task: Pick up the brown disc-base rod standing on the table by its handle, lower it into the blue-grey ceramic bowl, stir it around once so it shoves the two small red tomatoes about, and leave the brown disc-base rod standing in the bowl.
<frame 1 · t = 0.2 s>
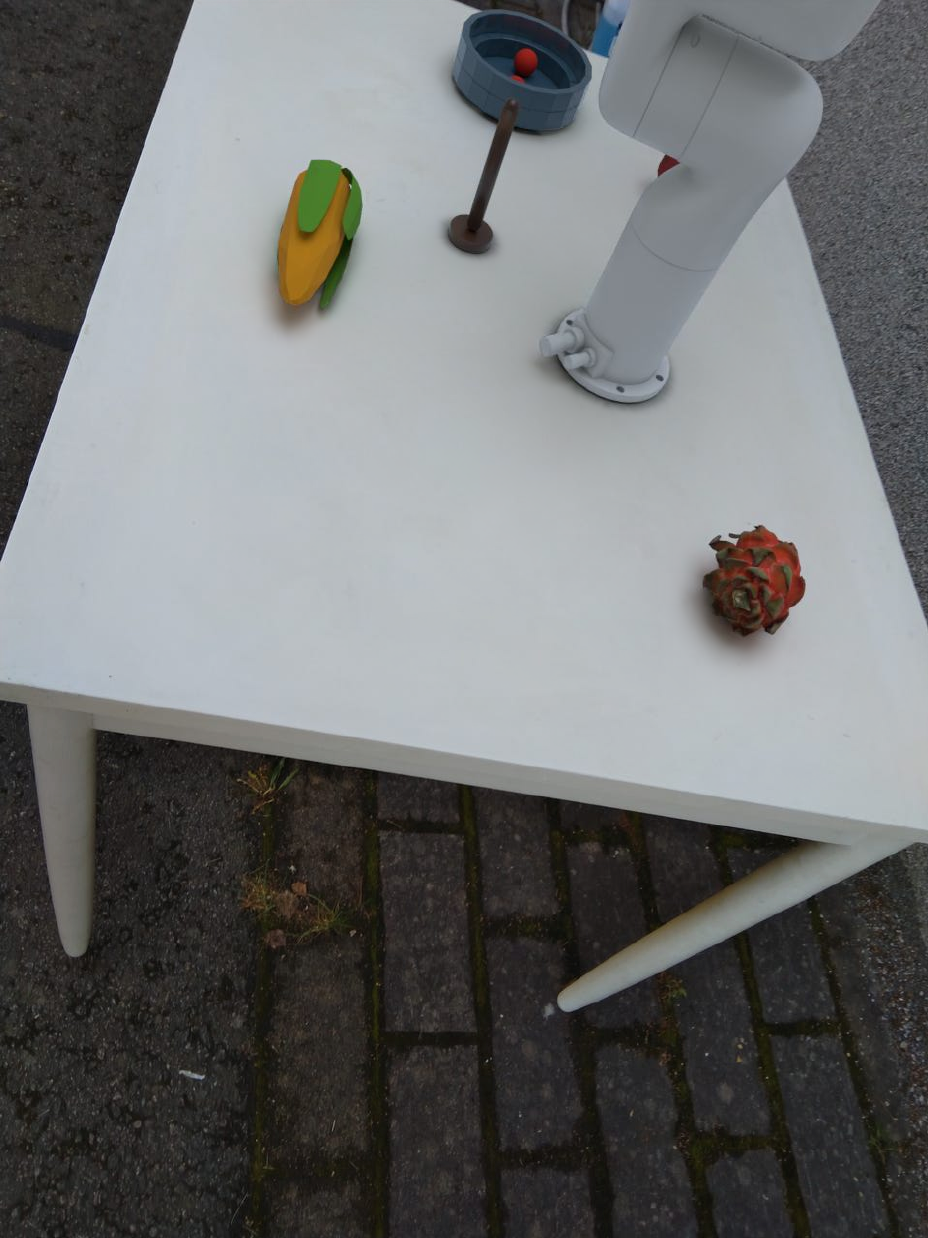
brown disc-base rod: (469, 238, 99), on the table
tomato a: (525, 62, 115), point 2 cm above the table, touching bowl
bowl: (514, 93, 115), on the table
corn: (312, 266, 90), on the table
tomato b: (514, 89, 111), point 2 cm above the table, touching bowl
onion: (667, 199, 113), on the table
dragon fruit: (732, 598, 84), on the table
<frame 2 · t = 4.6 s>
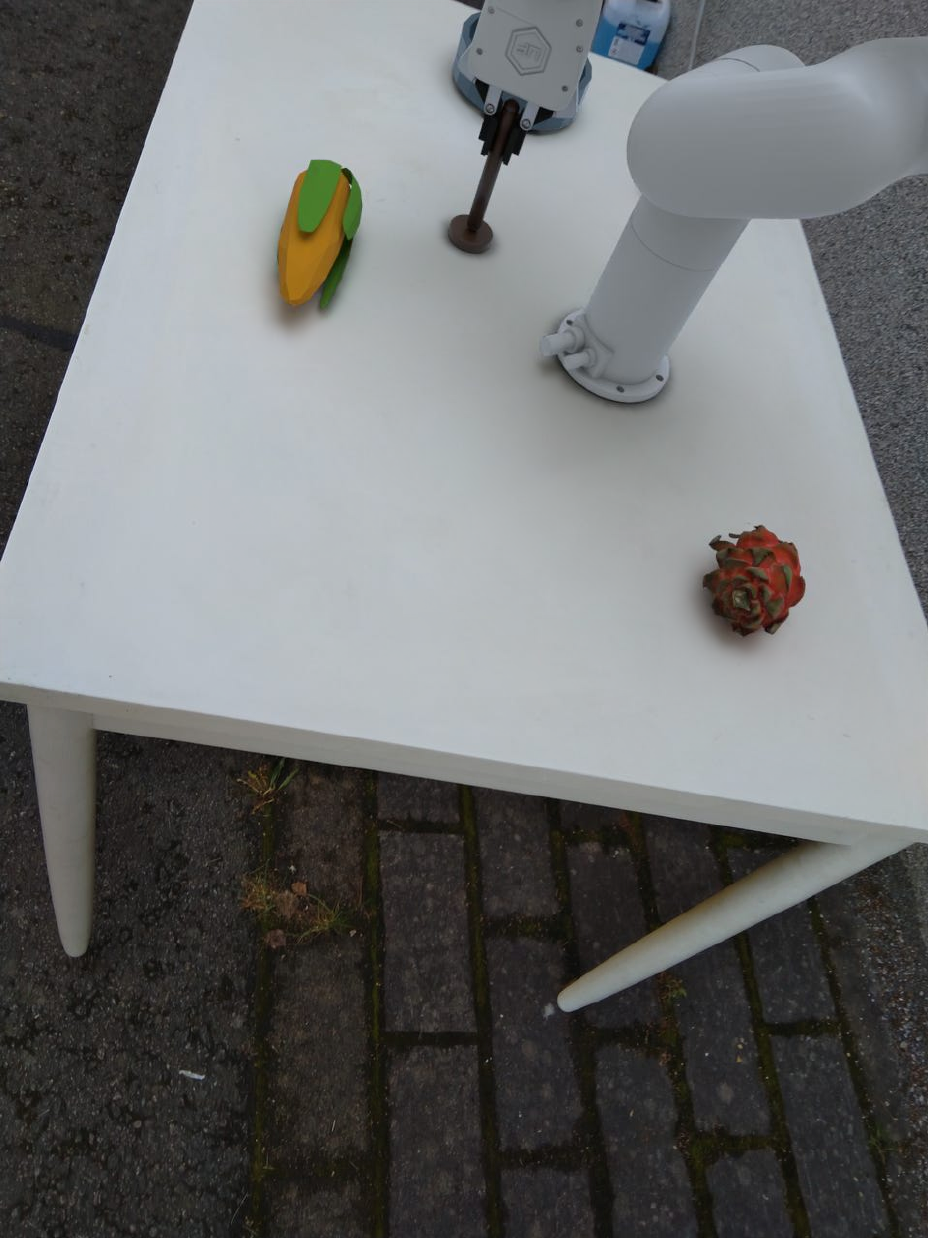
hand: (497, 151, 90), 10 cm above the table, tool pointing down, fingers closed on brown disc-base rod
brown disc-base rod: (469, 238, 99), on the table, touching gripper
everything else where it was.
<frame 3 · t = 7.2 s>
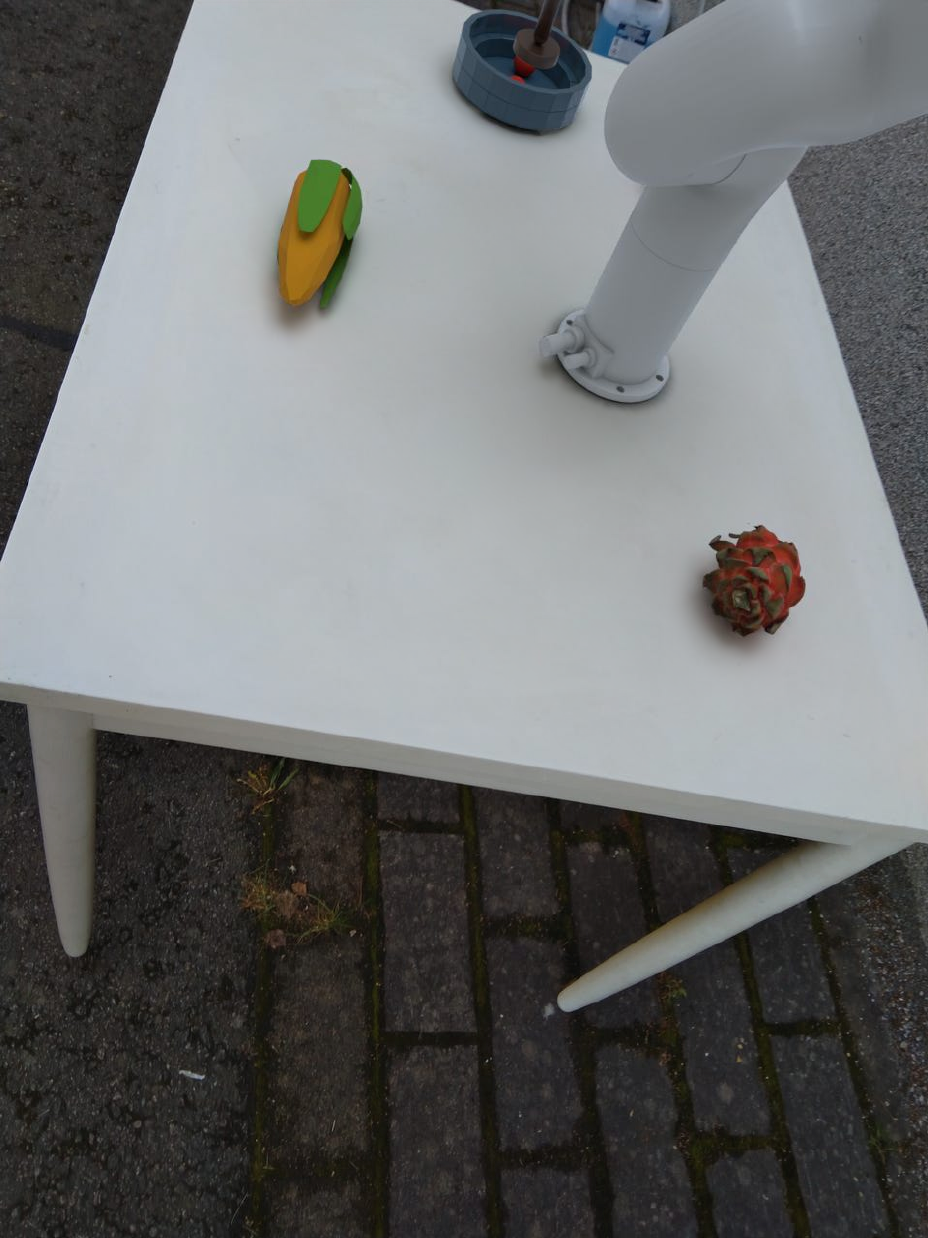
brown disc-base rod: (534, 54, 94), point 14 cm above the table, touching gripper
everything else where it was.
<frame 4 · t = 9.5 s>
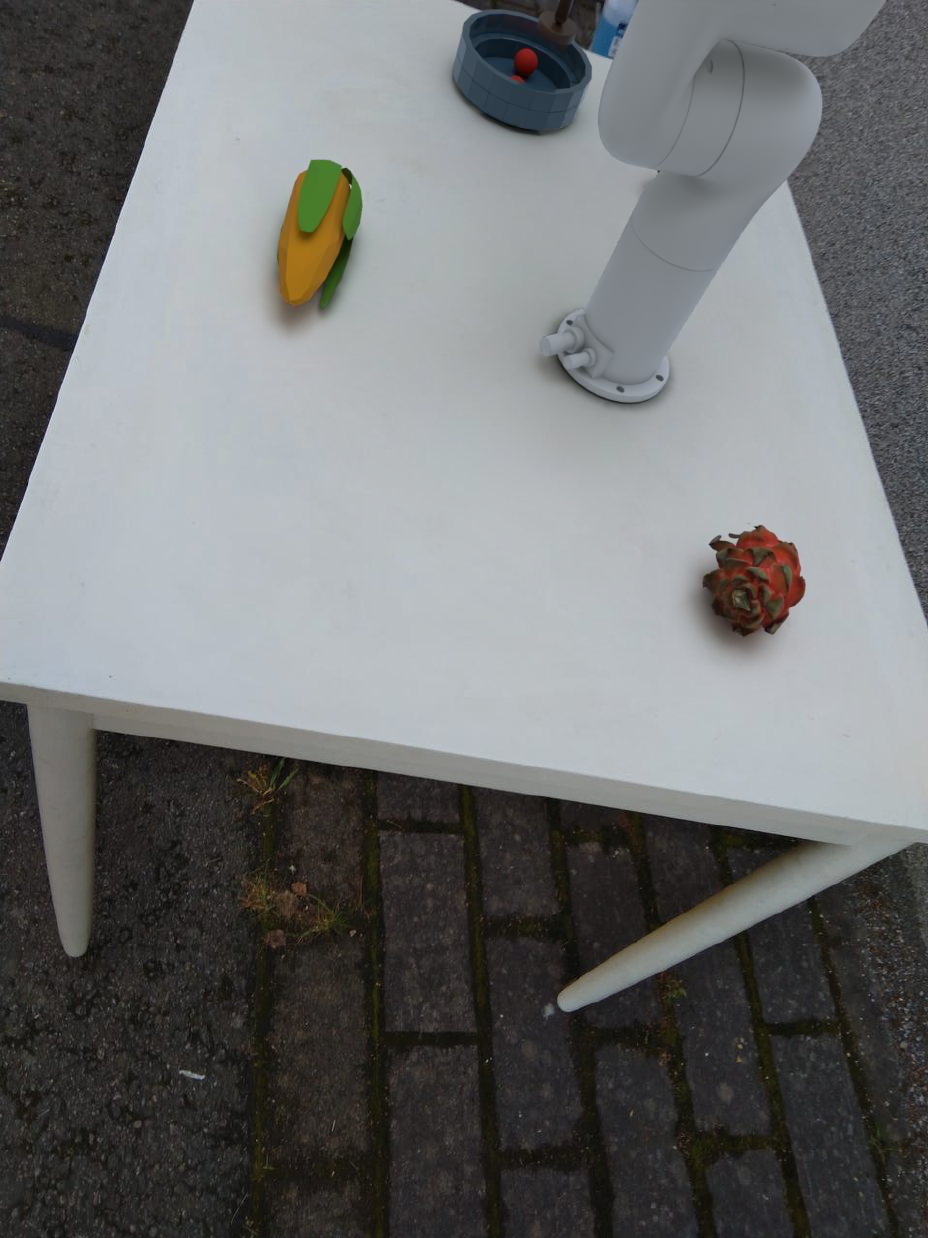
brown disc-base rod: (555, 33, 109), point 8 cm above the table, touching gripper
everything else where it was.
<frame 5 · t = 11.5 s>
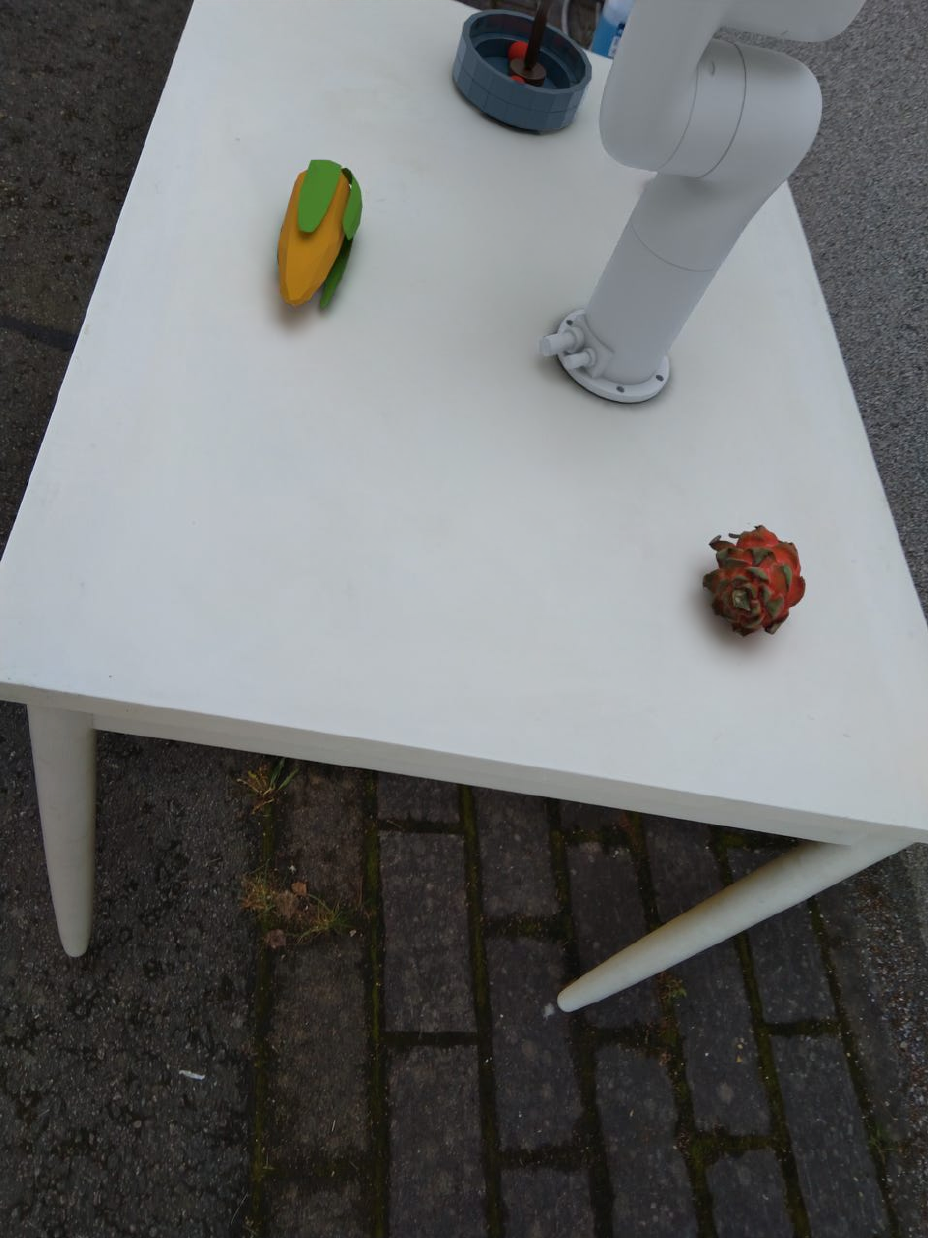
brown disc-base rod: (525, 77, 115), point 2 cm above the table, touching gripper, tomato a
tomato a: (519, 54, 116), point 2 cm above the table, tilted 52°, touching bowl, brown disc-base rod
everything else where it was.
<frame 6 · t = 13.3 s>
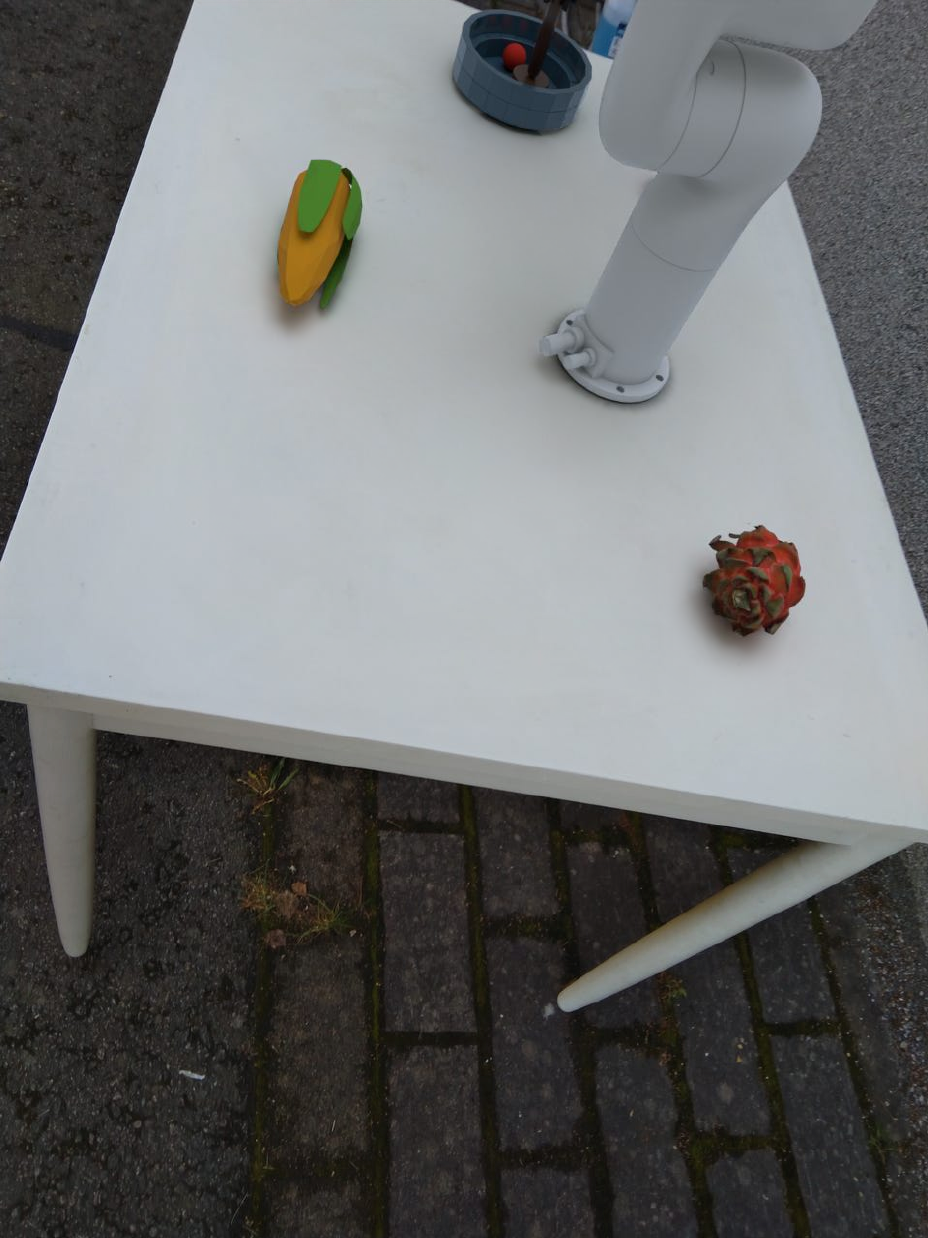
hand: (557, 0, 105), 12 cm above the table, tool pointing down, fingers closed on brown disc-base rod
brown disc-base rod: (528, 85, 113), point 2 cm above the table, touching gripper
tomato a: (514, 56, 115), point 2 cm above the table, tilted 26°, touching bowl
tomato b: (527, 99, 111), point 2 cm above the table, tilted 53°, touching bowl
everything else where it was.
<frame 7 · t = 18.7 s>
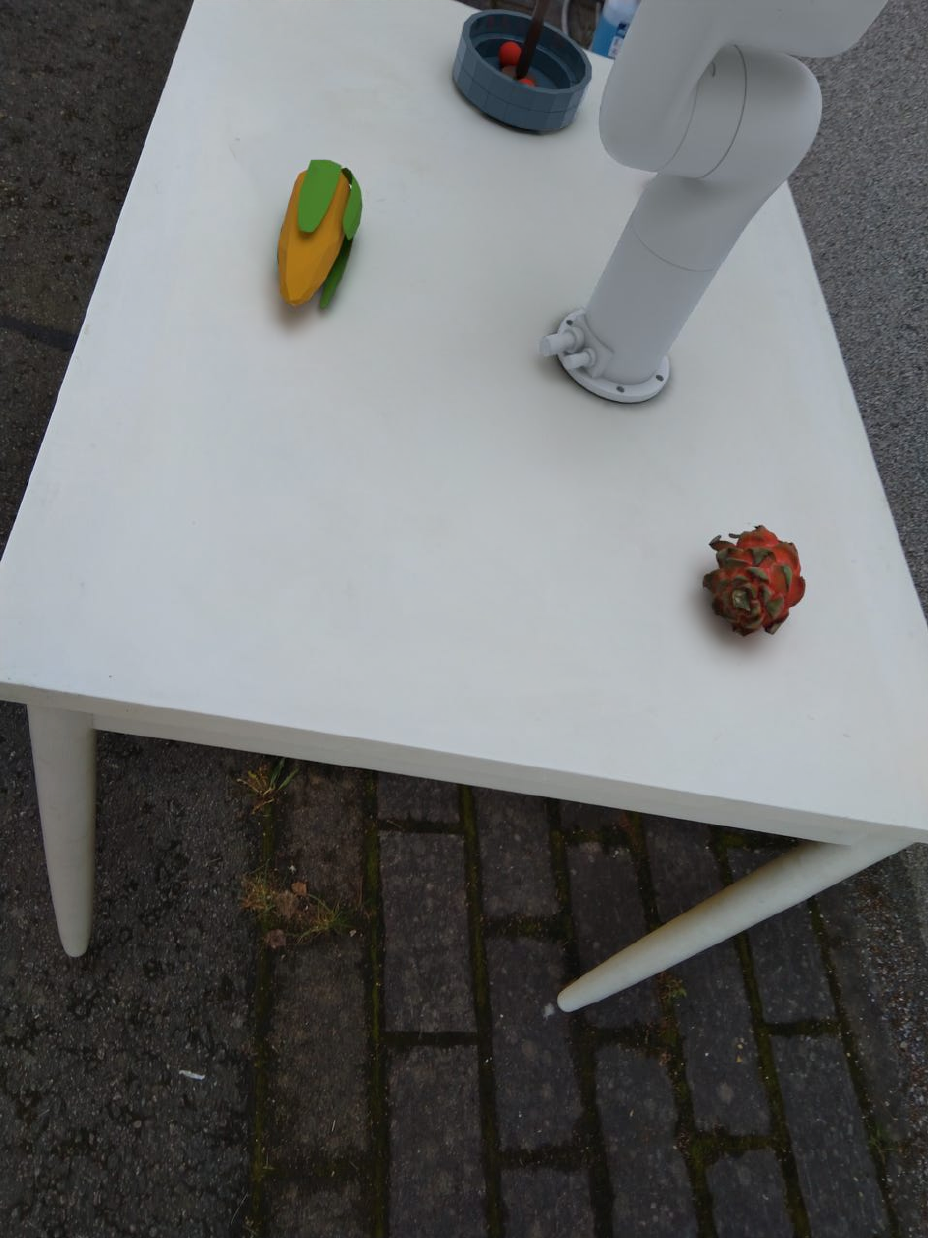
brown disc-base rod: (516, 85, 115), point 1 cm above the table, touching bowl
tomato a: (510, 55, 115), point 2 cm above the table, tilted 21°, touching bowl
tomato b: (524, 92, 112), point 2 cm above the table, tilted 57°, touching bowl
everything else where it was.
at the end: brown disc-base rod inside the target area in the bowl (0.4 cm from its centre), point 0.8 cm above the bowl's base; tomato a moved 2.2 cm from its start; tomato a inside the target area in the bowl (4.2 cm from its centre), point 2.3 cm above the bowl's base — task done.
